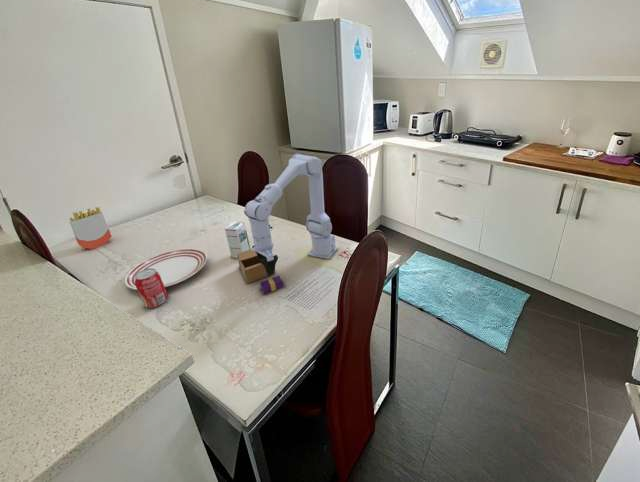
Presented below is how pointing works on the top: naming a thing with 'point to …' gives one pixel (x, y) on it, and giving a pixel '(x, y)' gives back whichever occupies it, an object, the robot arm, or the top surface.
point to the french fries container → (90, 229)
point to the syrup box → (237, 238)
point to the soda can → (150, 287)
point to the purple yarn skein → (271, 284)
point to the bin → (249, 260)
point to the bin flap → (253, 266)
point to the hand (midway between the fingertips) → (267, 268)
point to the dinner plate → (171, 266)
